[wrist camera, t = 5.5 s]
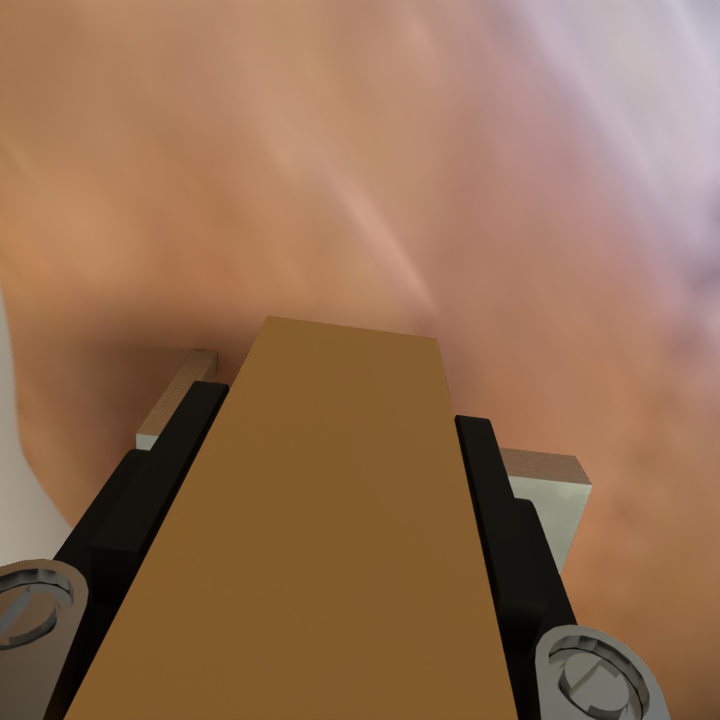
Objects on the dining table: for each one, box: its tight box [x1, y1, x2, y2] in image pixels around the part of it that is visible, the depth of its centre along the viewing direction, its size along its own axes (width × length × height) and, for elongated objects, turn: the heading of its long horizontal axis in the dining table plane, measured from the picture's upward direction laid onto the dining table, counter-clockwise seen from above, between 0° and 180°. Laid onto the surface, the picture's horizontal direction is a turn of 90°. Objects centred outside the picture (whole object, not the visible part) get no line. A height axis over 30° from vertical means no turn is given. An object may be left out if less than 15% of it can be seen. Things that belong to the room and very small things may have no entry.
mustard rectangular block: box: [63, 316, 518, 720], centre depth 7 cm, size 4×4×12 cm
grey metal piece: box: [136, 349, 593, 575], centre depth 24 cm, size 16×18×18 cm
